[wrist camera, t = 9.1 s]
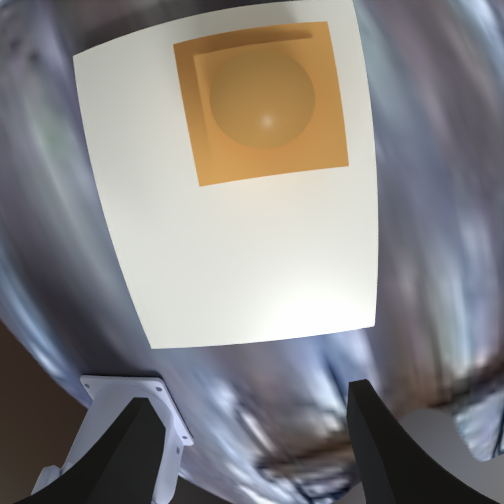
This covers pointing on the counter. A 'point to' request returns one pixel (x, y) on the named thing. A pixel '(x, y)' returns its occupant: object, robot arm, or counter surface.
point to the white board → (229, 196)
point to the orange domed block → (262, 102)
